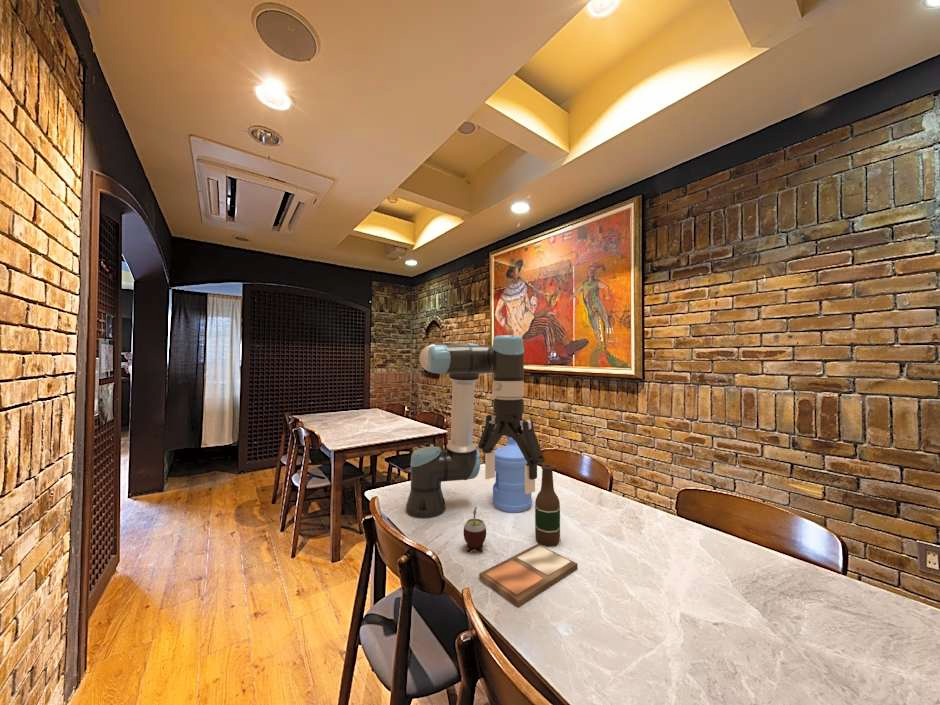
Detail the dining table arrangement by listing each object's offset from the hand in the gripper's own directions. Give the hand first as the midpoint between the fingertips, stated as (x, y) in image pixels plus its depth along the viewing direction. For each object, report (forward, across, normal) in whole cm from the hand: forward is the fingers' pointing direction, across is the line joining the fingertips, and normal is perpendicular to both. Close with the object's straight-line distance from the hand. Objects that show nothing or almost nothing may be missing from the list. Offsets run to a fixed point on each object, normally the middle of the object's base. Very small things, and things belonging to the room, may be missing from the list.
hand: (508, 484), depth 88 cm
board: (+27, -4, +11) cm, 30 cm away
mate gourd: (+27, -22, +8) cm, 36 cm away
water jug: (+27, -39, +41) cm, 63 cm away
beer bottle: (+27, -12, +29) cm, 42 cm away
